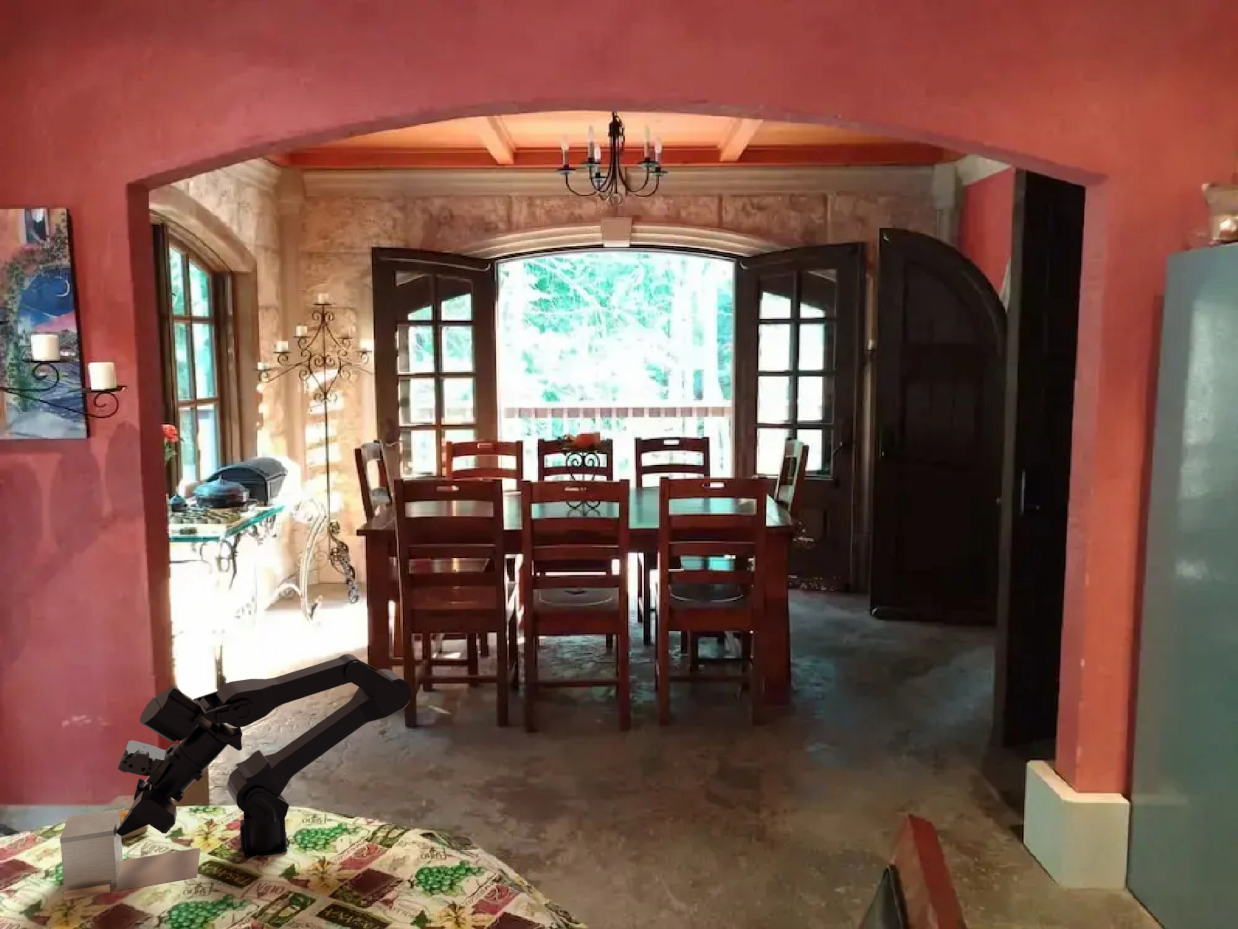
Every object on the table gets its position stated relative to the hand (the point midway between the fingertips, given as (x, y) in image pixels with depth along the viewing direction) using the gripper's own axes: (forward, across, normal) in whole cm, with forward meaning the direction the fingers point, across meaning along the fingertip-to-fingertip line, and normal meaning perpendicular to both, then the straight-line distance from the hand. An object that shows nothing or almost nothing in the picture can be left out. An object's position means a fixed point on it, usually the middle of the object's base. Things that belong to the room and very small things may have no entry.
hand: (119, 833), depth 150 cm
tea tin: (+7, 0, +2) cm, 8 cm away
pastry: (+7, -15, +4) cm, 17 cm away
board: (+4, 0, +6) cm, 7 cm away
